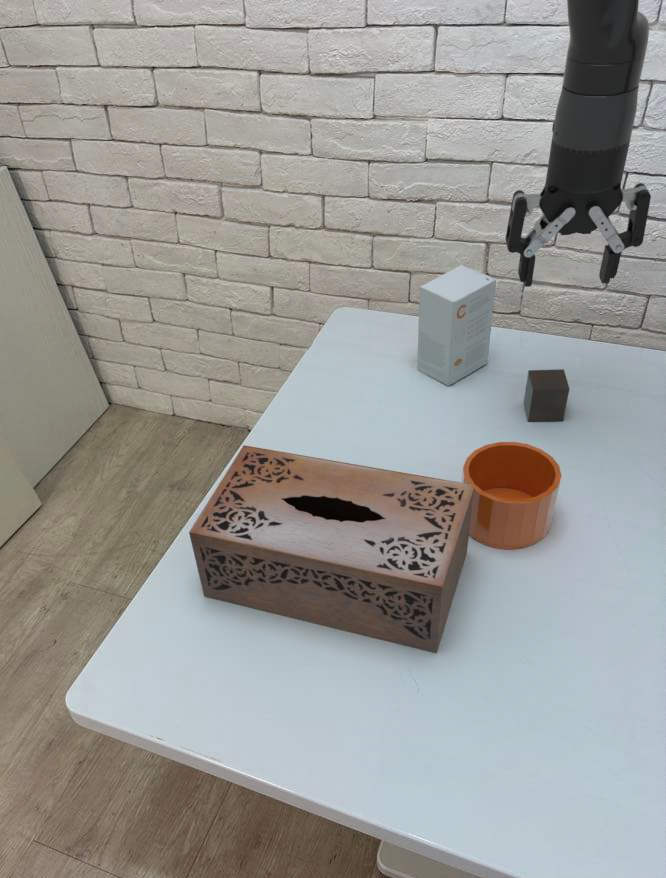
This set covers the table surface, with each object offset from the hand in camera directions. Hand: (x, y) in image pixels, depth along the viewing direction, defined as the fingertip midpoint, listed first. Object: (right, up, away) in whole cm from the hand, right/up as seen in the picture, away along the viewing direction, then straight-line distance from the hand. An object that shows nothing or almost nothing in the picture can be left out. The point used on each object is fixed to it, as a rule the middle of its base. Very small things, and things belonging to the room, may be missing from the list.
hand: (565, 281), depth 92 cm
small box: (-8, -5, +22) cm, 24 cm away
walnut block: (+2, -13, +12) cm, 18 cm away
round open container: (-7, -27, -1) cm, 28 cm away
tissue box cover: (-27, -34, -4) cm, 43 cm away
